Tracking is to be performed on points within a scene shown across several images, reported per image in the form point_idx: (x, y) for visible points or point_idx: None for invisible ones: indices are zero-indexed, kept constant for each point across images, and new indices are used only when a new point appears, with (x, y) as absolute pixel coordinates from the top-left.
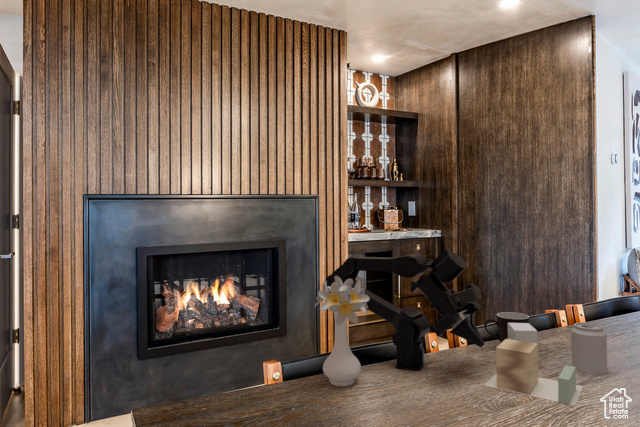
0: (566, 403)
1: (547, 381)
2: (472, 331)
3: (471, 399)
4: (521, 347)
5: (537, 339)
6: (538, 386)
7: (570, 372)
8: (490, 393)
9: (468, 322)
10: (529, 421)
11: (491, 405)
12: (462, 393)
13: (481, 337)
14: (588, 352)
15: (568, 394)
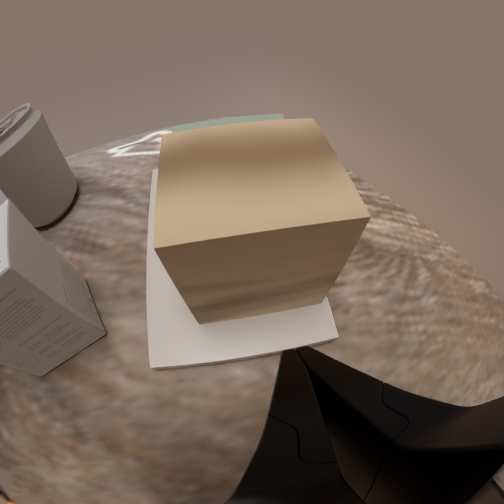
0: None
1: None
2: (403, 393)
3: (414, 326)
4: (266, 146)
5: (26, 220)
6: None
7: (224, 121)
8: (343, 315)
9: (495, 403)
10: (388, 197)
11: (400, 274)
12: (404, 367)
13: (279, 373)
14: (55, 152)
15: None
